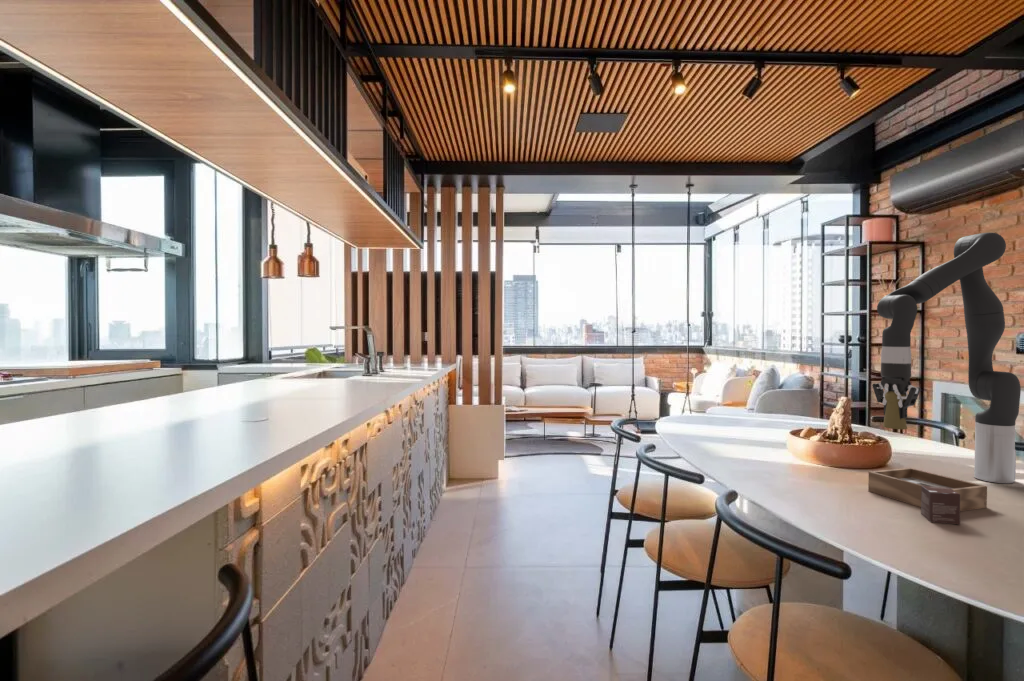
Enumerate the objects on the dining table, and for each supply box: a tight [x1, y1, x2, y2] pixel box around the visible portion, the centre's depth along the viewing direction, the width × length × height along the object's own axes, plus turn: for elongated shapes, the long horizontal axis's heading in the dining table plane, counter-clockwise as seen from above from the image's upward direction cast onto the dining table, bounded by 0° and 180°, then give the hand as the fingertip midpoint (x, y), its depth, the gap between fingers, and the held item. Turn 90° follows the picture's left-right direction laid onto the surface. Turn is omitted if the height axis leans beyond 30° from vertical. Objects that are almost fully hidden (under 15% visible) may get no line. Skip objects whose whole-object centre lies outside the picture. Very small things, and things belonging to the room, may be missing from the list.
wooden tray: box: [867, 467, 988, 512], centre depth 149 cm, size 16×20×6 cm
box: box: [920, 486, 961, 525], centre depth 133 cm, size 6×6×7 cm
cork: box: [882, 391, 908, 430], centre depth 166 cm, size 6×6×11 cm
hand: (895, 418), depth 166 cm, fingers closed on cork, 3 cm apart
